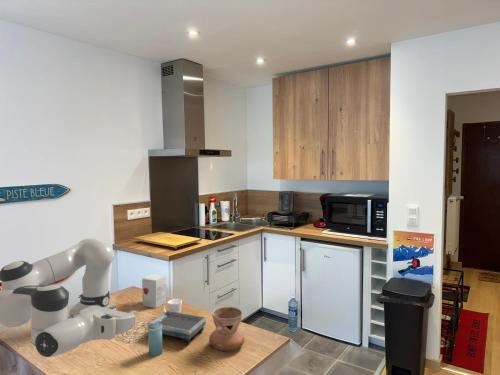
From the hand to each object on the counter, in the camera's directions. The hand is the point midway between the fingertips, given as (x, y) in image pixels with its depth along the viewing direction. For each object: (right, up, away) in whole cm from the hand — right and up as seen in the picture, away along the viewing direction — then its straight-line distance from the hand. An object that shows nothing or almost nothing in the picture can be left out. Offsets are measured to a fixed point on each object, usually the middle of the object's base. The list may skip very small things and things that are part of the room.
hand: (124, 310), depth 123 cm
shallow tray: (+13, -21, +30) cm, 39 cm away
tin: (+7, -22, +15) cm, 28 cm away
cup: (+6, -20, +47) cm, 52 cm away
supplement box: (-7, -19, +63) cm, 66 cm away
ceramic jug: (+35, -22, +21) cm, 47 cm away
